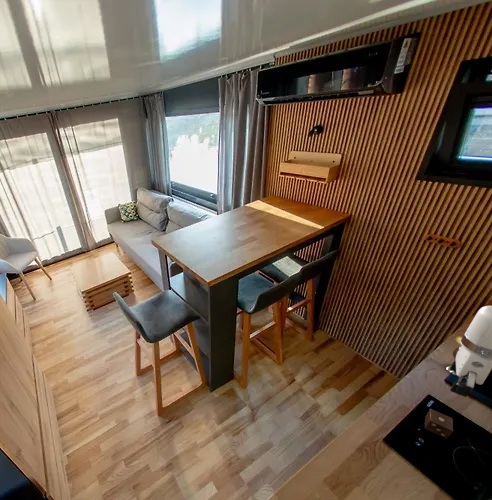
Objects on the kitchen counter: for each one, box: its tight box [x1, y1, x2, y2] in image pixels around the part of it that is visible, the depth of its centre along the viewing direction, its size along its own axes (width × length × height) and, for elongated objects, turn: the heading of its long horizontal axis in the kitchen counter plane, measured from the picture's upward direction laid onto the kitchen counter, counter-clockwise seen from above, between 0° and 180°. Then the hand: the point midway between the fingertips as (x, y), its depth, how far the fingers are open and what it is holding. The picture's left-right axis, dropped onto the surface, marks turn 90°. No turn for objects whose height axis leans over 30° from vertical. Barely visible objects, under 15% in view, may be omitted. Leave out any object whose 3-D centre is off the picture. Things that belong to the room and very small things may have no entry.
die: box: [424, 408, 454, 440], centre depth 84 cm, size 5×5×5 cm
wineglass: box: [446, 344, 462, 377], centre depth 97 cm, size 6×6×12 cm
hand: (457, 382), depth 80 cm, fingers open, 8 cm apart
